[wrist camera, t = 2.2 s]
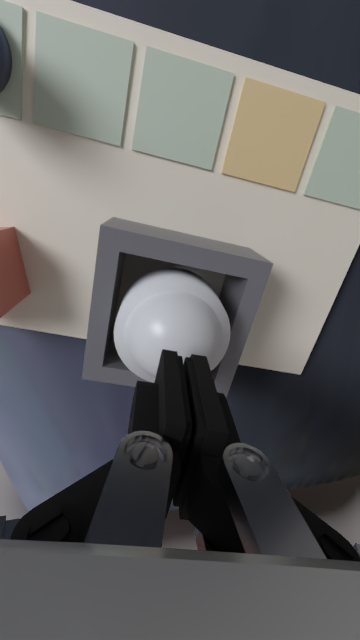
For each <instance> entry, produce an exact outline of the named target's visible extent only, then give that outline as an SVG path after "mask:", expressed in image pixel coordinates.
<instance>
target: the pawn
mask: <svg viewBox="0 0 360 640" xmlns="http://www.w3.org/2000/svg"><path fill="white" fill-rule="evenodd" d="M11 71H12V55H11V50H10V46H9V43H8V40H7V38H6V36H5V33H4V31H3V30H2V28H1V27H0V93H1V92H2V91H3V90H4V88H5V87H6V85H7V84H8V82H9V79H10V76H11Z"/></svg>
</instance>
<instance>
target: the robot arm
mask: <svg viewBox="0 0 360 640" xmlns="http://www.w3.org/2000/svg"><path fill="white" fill-rule="evenodd" d="M172 498H173V505H174V506H178V507H179V514H180V519H185V520H189V521H190V522H191V523H192V524H193V525H194V526H195V527H196V529H195V541H196V545H197V549H198V550H188V549H187V550H186V549H172V548H161V546H162V539H163V530H164V523H165V519H166V517H167V514H168V511H169V508H170V504H171V501H172ZM0 640H360V544H357V543H355V545H354V546H352V545H351V544H350V543H349V542H348V541H347V540H346V539H345V538H344V537H343V536H342V535H341V534H339V533H338V532H337V531H336V530H334V529H333V528H331V527H330V526H329V525H327V523H325V522H324V521H323V520H321V519H320V518H319V517H317V516H316V515H315V514H314V513H312V512H311V511H310V510H308V509H307V508H306V507H305V506H303V505H302V504H301V503H299V502H298V501H297V500H295V499H294V498H293V497H292V496H290V494H289V492H288V491H287V489H286V487H285V485H284V484H283V482H282V480H281V478H280V477H279V475H278V473H277V471H276V470H275V468H274V466H273V465H272V463H271V461H270V460H269V459H268V457H267V456H266V455H265V454H264V453H262V452H261V451H260V450H258V449H257V448H255V447H253V446H251V445H248V444H244V443H241V442H240V439H239V436H238V433H237V430H236V427H235V424H234V421H233V418H232V415H231V412H230V409H229V406H228V403H227V400H226V397H225V395H224V394H223V393H218V392H217V390H216V387H215V383H214V380H213V376H212V373H211V370H210V366H209V363H208V360H207V357H206V356H201V355H195V354H192V355H191V356H190V357H186V358H185V360H184V364H183V359H182V356H178V353H177V351H171V350H165V349H162V352H161V356H160V361H159V365H158V369H157V374H156V378H155V382H154V383H151V382H145V381H138V380H137V383H136V387H135V392H134V397H133V402H132V408H131V414H130V421H129V428H128V435H127V436H125V437H124V438H123V439H122V440H121V442H120V444H119V446H118V449H117V451H116V454H115V457H114V459H113V460H111V461H109V462H108V463H106V464H105V465H103V466H101V467H100V468H98V469H96V470H95V471H93V472H92V473H90V474H88V475H87V476H85V477H83V478H82V479H80V480H79V481H77V482H75V483H74V484H72V485H70V486H69V487H67V488H66V489H64V490H62V491H61V492H59V493H57V494H56V495H54V496H53V497H51V498H49V499H48V500H46V501H44V502H43V503H41V504H40V505H38V506H36V507H35V508H33V509H32V510H31V511H29V512H28V513H27V514H26V515H24V516H23V517H22V518H21V519H14V520H7V521H6V516H0Z"/></svg>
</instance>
